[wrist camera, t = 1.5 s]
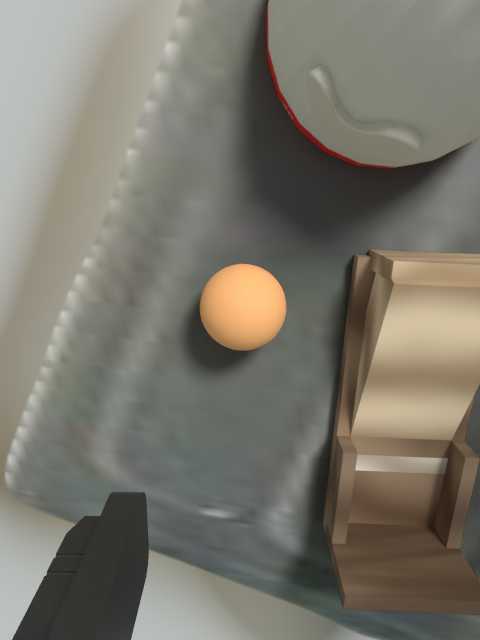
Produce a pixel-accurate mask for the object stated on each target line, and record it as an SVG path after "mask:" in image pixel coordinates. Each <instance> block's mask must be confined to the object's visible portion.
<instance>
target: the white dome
mask: <svg viewBox="0 0 480 640" xmlns="http://www.w3.org/2000/svg"><path fill="white" fill-rule="evenodd" d="M266 25H267V60H268V64H269V67H270V71H271V75H272V78H273V82H274V85H275V89H276V93H277V96H278V98H279V100H280V101H281V103H282V104H283V106H284V108H285V109H286V111H287V113H288V114H289V116H290V118H291V119H292V121H293V123H294V124H295V126H296V128H297V129H299V130H300V131H301V132H302V133H303V134H304V135H305V136H306V137H307V138H309V139H310V140H311V141H312V142H313V143H314V144H315V145H316V146H317V147H319V148H320V149H321V150H322V151H324V152H326V153H328V154H330V155H332V156H335V157H337V158H339V159H341V160H343V161H346V162H348V163H350V164H352V165H359V166H367V167H376V168H384V169H388V168H395V167H401V166H406V165H411V164H417V163H422V162H428V161H432V160H435V159H437V158H439V157H441V156H443V155H445V154H447V153H449V152H451V151H453V150H455V149H457V148H459V147H461V146H463V145H465V144H467V143H469V142H471V141H473V140H475V139H477V138H478V137H480V0H269V2H268V8H267V16H266Z"/></svg>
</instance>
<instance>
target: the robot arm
mask: <svg viewBox="0 0 480 640" xmlns="http://www.w3.org/2000/svg"><path fill="white" fill-rule="evenodd" d="M148 554H149V545H148V525H147V505H146V495H145V493H144V492H112V493H111V494H110V495H109V497H108V500H107V502H106V504H105V507H104V509H103V511H102V514H101V516H85V517H83V518H82V519H81V520H80V521H79V522H78V523H77V524H76V525H75V526H74V527H73V528H72V529H71V530H70V531H69V532H68V533H67V534H66V536H65V538H64V540H63V542H62V543H61V545H60V547H59V549H58V551H57V553H56V558H54V559H53V561H52V563H51V565H50V567H49V569H48V571H47V575H46V576H45V577H44V579H43V581H42V583H41V585H40V586H39V588H38V590H37V592H36V594H35V596H34V598H33V600H32V602H31V604H30V606H29V608H28V610H27V612H26V614H25V616H24V618H23V620H22V621H21V623H20V625H19V627H18V629H17V631H16V633H15V635H14V637H13V639H12V640H131V637H132V633H133V628H134V624H135V621H136V616H137V612H138V608H139V604H140V600H141V595H142V592H143V588H144V583H145V579H146V574H147V567H148Z"/></svg>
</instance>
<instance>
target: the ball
mask: <svg viewBox="0 0 480 640" xmlns="http://www.w3.org/2000/svg"><path fill="white" fill-rule="evenodd" d="M200 315H201V319H202V322H203V325H204V327H205V329H206V330H207V332H208V333H209V335H210V336H211V337H212V338H213V339H214V340H215V341H217V342H218V343H220V344H221V345H223V346H225V347H227V348H230V349H234V350H252V349H256V348H259V347H261V346H263V345H265V344H267V343H268V342H269V341H271V340H272V339H273V338H274V337H275V336H276V335H277V333H278V332H279V330H280V329H281V327H282V325H283V322H284V319H285V316H286V299H285V295H284V292H283V289H282V287H281V286H280V284H279V282H278V281H277V280H276V279H275V278H274V277H273V276H272V275H271V274H270V273H269V272H267V271H266V270H264V269H262V268H260V267H258V266H254V265H250V264H237V265H232V266H228V267H226V268H224V269H222V270H220V271H219V272H217V273H216V274H215V275H214V276H213V277H212V278H211V279H210V280H209V281H208V283H207V284H206V286H205V288H204V290H203V292H202V295H201V300H200Z"/></svg>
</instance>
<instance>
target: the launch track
mask: <svg viewBox="0 0 480 640" xmlns="http://www.w3.org/2000/svg"><path fill="white" fill-rule="evenodd" d="M479 384H480V254H460V253H437V252H414V251H391V250H369V255H354V259H353V268H352V277H351V285H350V294H349V303H348V311H347V320H346V328H345V337H344V346H343V354H342V363H341V372H340V380H339V389H338V398H337V406H336V415H335V423H334V432H333V441H332V449H331V458H330V467H329V475H328V484H327V492H326V501H325V510H324V518H323V526H324V530H325V534H326V538H327V543H328V547H329V551H330V555H331V560H332V564H333V568H334V572H335V577H336V581H337V585H338V589H339V593H340V598H341V602H342V606H343V609H349V610H374V611H398V612H423V613H447V614H472V615H480V582H479V580H478V579H477V577H476V575H475V574H474V572H473V570H472V569H471V567H470V565H469V564H468V562H467V560H466V559H465V557H464V555H463V554H462V552H461V550H460V544H461V540H462V536H463V531H464V527H465V522H466V518H467V514H468V509H469V505H470V500H471V496H472V492H473V487H474V483H475V478H476V474H477V469H478V465H479V461H480V458H479V457H478V456H477V454H476V453H475V452H474V451H473V450H472V449H471V448H470V446H469V445H468V444H467V443H466V442H465V437H466V433H467V428H468V423H469V418H470V414H471V409H472V404H473V400H474V395H475V392H476V390H477V388H478V386H479Z"/></svg>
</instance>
